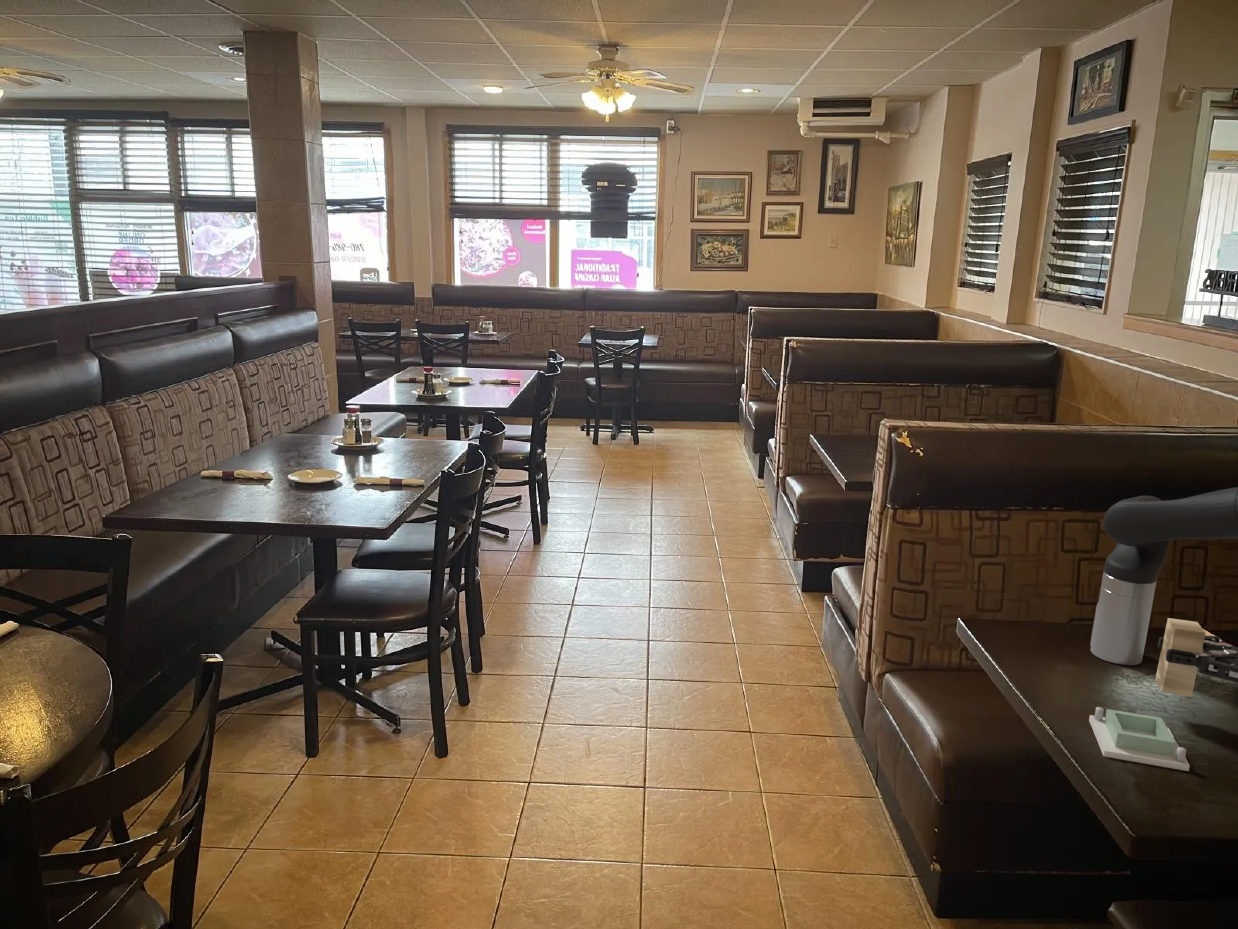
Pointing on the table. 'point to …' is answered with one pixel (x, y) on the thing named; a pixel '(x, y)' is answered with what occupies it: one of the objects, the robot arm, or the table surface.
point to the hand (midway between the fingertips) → (1163, 649)
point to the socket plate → (1137, 739)
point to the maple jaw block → (1184, 639)
